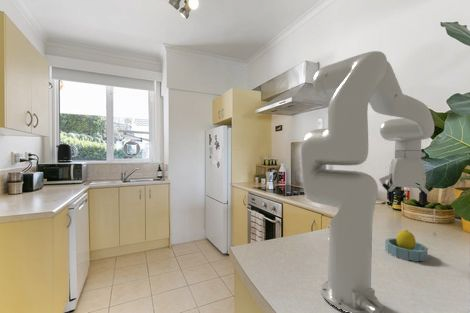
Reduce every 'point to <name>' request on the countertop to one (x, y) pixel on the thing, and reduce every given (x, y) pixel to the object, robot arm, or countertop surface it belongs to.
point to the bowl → (406, 251)
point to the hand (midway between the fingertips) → (406, 203)
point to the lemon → (406, 240)
